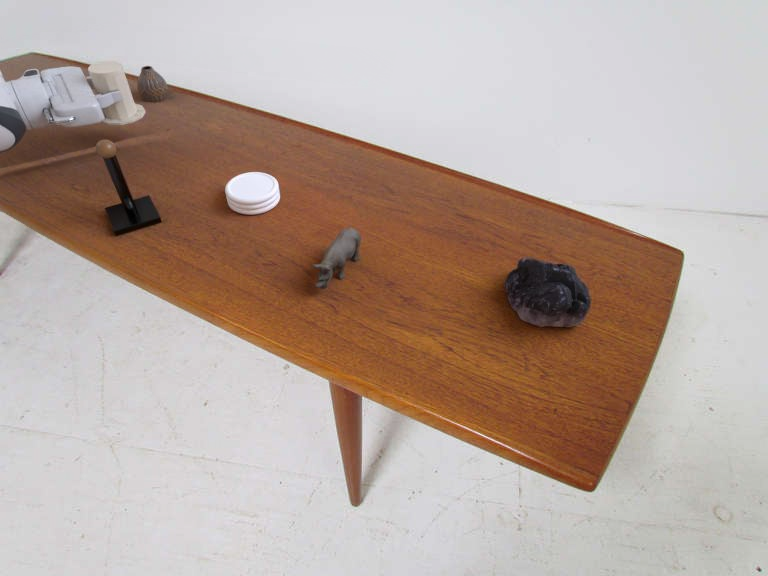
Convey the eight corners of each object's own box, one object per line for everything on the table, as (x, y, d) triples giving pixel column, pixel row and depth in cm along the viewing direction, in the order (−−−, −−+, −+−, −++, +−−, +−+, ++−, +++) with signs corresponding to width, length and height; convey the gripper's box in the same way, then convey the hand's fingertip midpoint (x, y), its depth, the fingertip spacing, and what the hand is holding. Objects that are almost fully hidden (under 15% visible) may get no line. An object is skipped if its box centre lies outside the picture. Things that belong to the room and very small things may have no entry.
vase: (163, 94, 128) (153, 59, 122) (177, 103, 124) (167, 68, 118) (138, 102, 124) (126, 67, 118) (150, 112, 121) (139, 76, 115)
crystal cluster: (527, 265, 86) (535, 219, 79) (605, 297, 80) (620, 250, 73) (487, 312, 80) (490, 267, 73) (567, 351, 73) (580, 306, 66)
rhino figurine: (304, 294, 79) (300, 267, 75) (345, 245, 88) (344, 217, 84) (326, 303, 78) (324, 275, 73) (366, 252, 87) (366, 224, 82)
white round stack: (268, 219, 92) (266, 204, 90) (219, 211, 94) (214, 195, 91) (287, 190, 99) (286, 174, 97) (241, 182, 101) (238, 167, 98)
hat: (103, 129, 99) (84, 79, 92) (94, 110, 104) (75, 62, 97) (150, 119, 103) (134, 70, 96) (138, 101, 108) (123, 54, 101)
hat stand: (116, 236, 88) (80, 158, 77) (106, 212, 92) (71, 136, 81) (162, 222, 91) (134, 145, 80) (150, 200, 96) (123, 124, 85)
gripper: (40, 108, 86) (124, 91, 92) (25, 66, 98) (100, 54, 103) (55, 141, 91) (135, 124, 96) (40, 97, 102) (111, 84, 108)
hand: (117, 87), depth 100 cm, fingers closed on hat, 6 cm apart
